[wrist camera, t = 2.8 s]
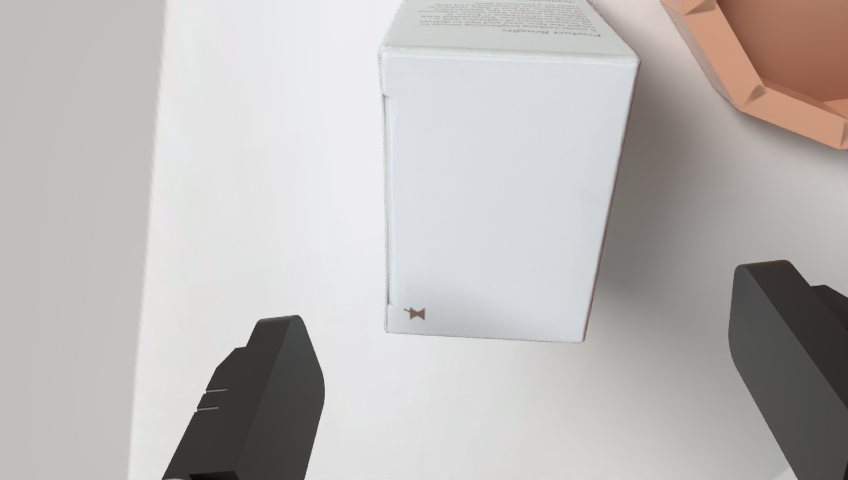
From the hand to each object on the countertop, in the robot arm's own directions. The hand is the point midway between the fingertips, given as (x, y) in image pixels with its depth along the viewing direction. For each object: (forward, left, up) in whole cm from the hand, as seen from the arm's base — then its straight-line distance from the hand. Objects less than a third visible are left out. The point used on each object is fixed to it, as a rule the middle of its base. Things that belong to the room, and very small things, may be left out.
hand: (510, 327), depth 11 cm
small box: (0, 0, -14) cm, 14 cm away
